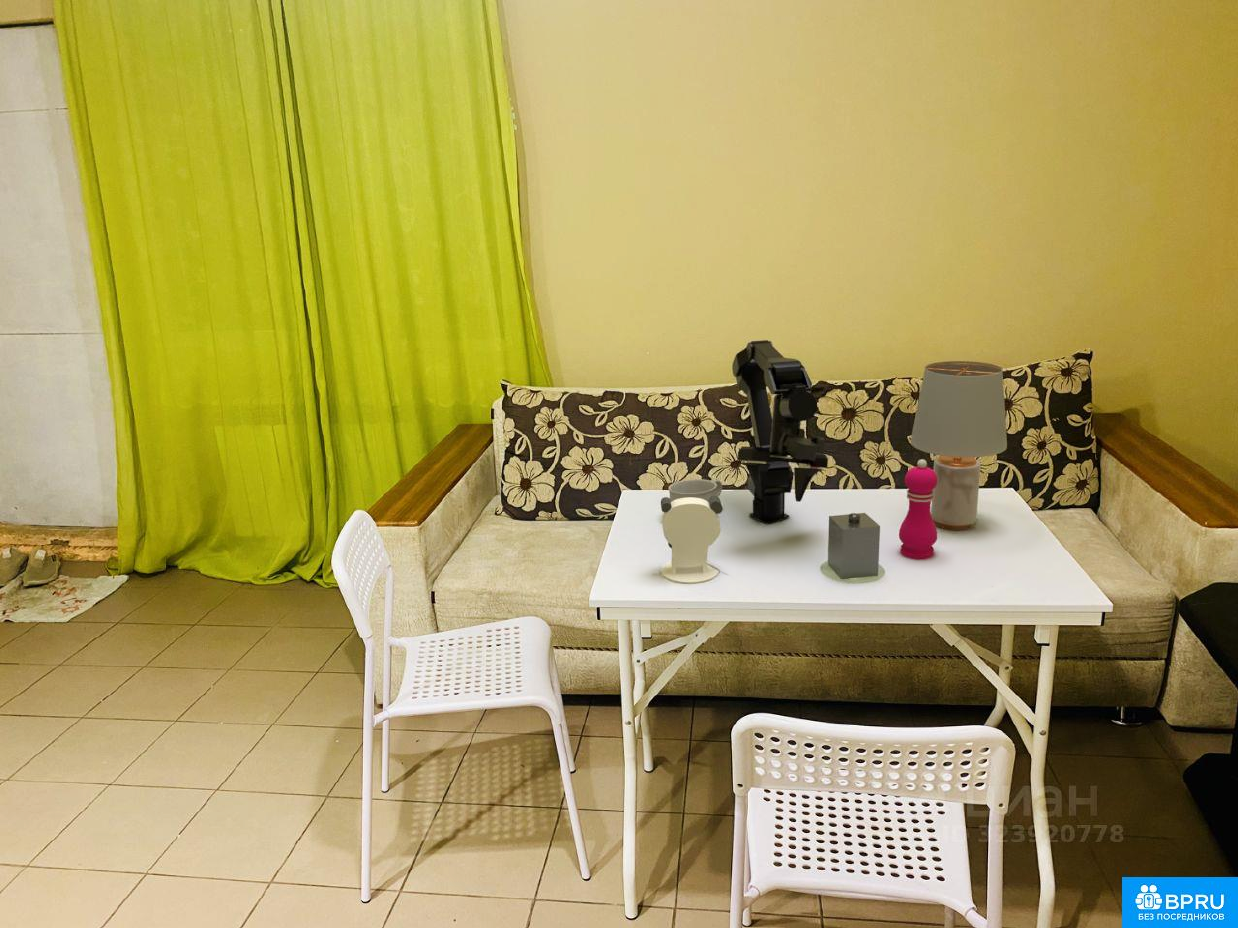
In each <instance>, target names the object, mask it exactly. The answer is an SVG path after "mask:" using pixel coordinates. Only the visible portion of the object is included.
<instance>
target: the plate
mask: <svg viewBox="0 0 1238 928" xmlns="http://www.w3.org/2000/svg"><path fill="white" fill-rule="evenodd" d="M819 569H820V573H821V574H823V576H825V577H826V578H828V579H831V580H832V581H835V582H840V583H845V584H858V585H859V584H869V583H874V582H876V581H879V580H881V579H882V578H884V576H885V574H886V571H885V568H884V567H883V566H882V565H880V564H879V565H878V576H870V577H860V578H850V579H840V577H839V576H838V575H837V574H836V573H835V572H834V571H833V570H832V568H831V567H830V566H829V565H828V560H826V561H825V562H823V563H821V565H820V568H819Z"/></svg>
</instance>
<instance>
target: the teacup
mask: <svg viewBox="0 0 1238 928" xmlns="http://www.w3.org/2000/svg"><path fill="white" fill-rule="evenodd" d="M722 490H723V483H722V482H721V480H720V479H717V478H713V479H711V480H709V479H702V478H701V479H700V478H691V479H685V480H680V481H676V482H673V483H671V484H670V485H669V486H668V491H669V498H670V500H671V502H672V501H674V500H676V499H680V498H687V497H694V498H701V499H704V500H706V501H707V502H709V498H710V497H711V496H713V495H715V496H717V497H719V496H720V495H721V493H722V492H723V491H722Z"/></svg>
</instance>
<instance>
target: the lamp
mask: <svg viewBox="0 0 1238 928" xmlns="http://www.w3.org/2000/svg"><path fill="white" fill-rule="evenodd" d="M1003 375H1004V373H1003V368H1002V367H1001V366H999V365H997V364H993V363H992V364H991V363H987V362H980V361H969V360H967V361H965V360H963V361H962V360H956V361H955V360H951V361H941V362H940V361H939V362H933V363H929V364H927V365H925V366H924V370H923V377H922V381H921V382H922V383H921V386H920V391H919V396H918V400H917V406H916V412H915V417H914V422H913V427H912V432H911V437H910V445H911V446H912V447H913V448H915V449H916V450H919V451H922V452H924V453H927V454H932V455H935V456H938V457H935V459H934V461H933V471H934V472H935V473H936V475H937V480H938V482H937V485H936V487H935V488H934V489H933V490H932V491H933V492H934V495H933V497H934V499H933V500H932V501H931V504H930V512H931V517H932V520H933V522H934V524H935V526H936V527H939V528H942V529H945V530H950V531H951V530H953V531H962V530H968V529H970V528H972V527H973V524H974V523H976V521H977V514H978V503H979V491H980V477H981V462H980V461H979V460H977V459H976V458H985V457H990V456H995V455H998V454H1001V453H1003V452H1005V451H1006V450H1007V447H1008V440H1007V438H1008V437H1007V436H1008V435H1007V422H1006V421H1007V420H1006V406H1005V404H1006V403H1005V395H1004V393H1005V391H1004V379H1003V377H1004V376H1003Z"/></svg>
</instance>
